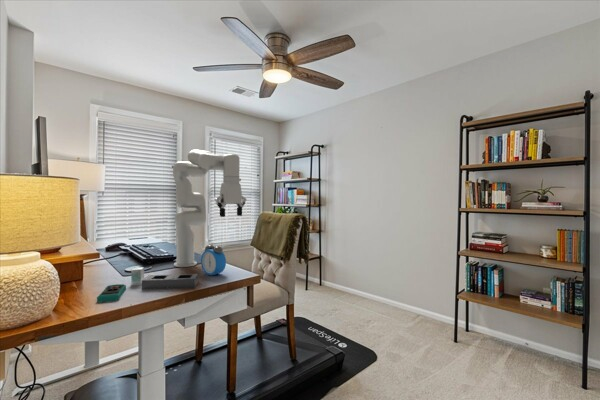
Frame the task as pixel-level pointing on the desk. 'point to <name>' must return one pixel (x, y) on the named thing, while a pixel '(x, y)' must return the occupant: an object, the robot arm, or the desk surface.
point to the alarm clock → (213, 260)
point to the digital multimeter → (111, 293)
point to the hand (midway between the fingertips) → (231, 216)
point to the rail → (170, 281)
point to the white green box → (137, 276)
